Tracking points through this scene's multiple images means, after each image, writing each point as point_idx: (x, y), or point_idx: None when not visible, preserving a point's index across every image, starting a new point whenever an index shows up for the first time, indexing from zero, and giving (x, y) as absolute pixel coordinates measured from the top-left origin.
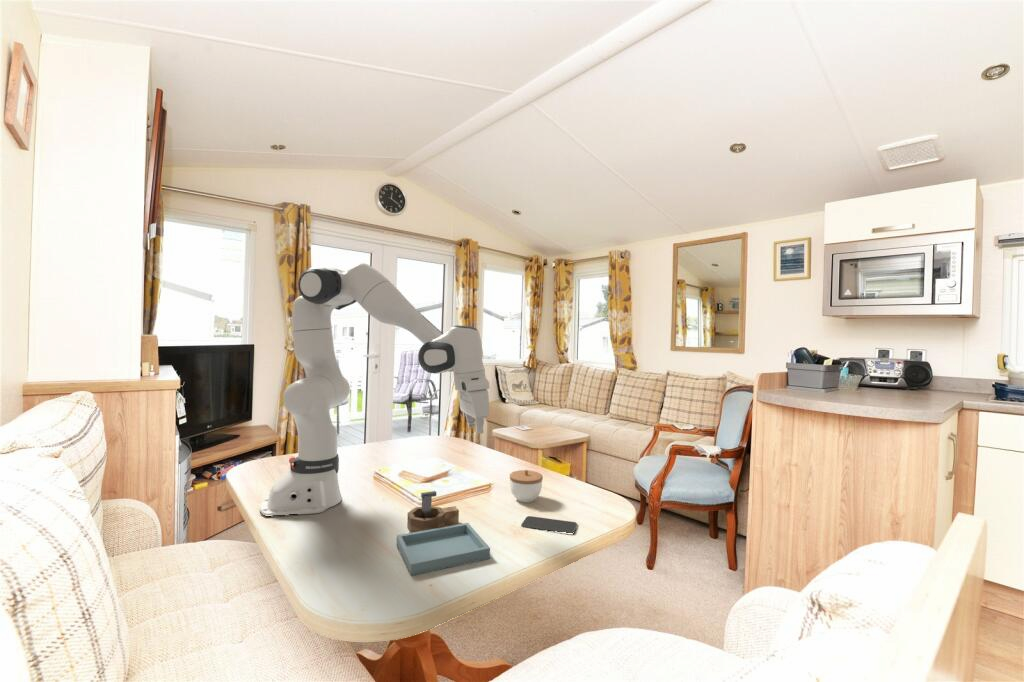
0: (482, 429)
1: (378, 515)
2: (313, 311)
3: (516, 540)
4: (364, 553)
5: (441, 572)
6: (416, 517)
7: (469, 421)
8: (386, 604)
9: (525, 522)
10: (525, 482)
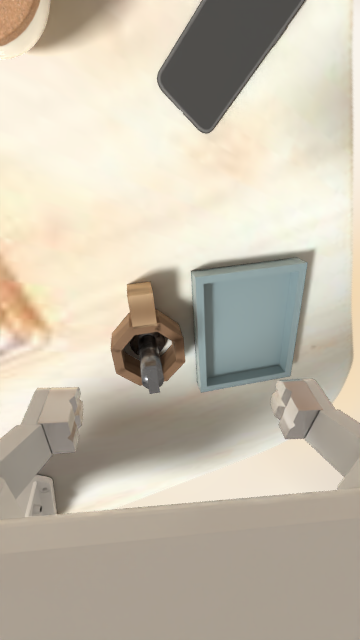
0: (323, 398)
1: None
2: None
3: (263, 180)
4: (204, 414)
5: None
6: (165, 372)
7: (47, 451)
8: None
9: (195, 112)
10: None
